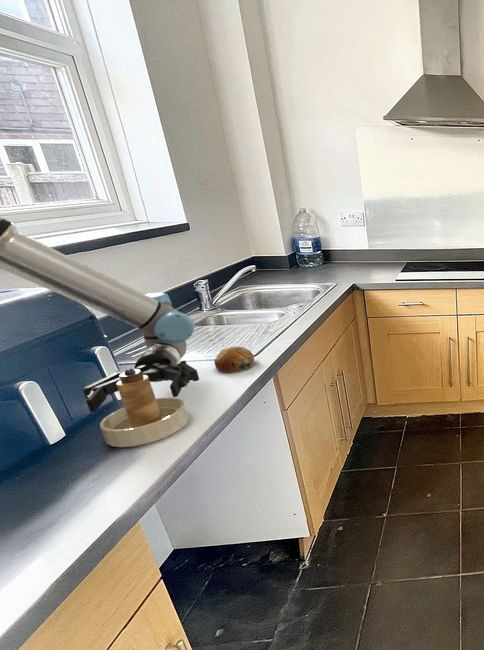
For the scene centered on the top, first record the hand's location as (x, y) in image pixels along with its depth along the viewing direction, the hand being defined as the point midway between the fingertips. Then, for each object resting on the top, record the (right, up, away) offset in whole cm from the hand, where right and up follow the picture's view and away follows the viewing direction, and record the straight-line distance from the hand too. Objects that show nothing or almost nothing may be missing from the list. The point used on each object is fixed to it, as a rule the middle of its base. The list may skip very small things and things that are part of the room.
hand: (133, 398), depth 87 cm
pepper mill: (-1, -7, +5) cm, 9 cm away
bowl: (-1, -8, +6) cm, 10 cm away
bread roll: (-4, +4, +38) cm, 39 cm away
